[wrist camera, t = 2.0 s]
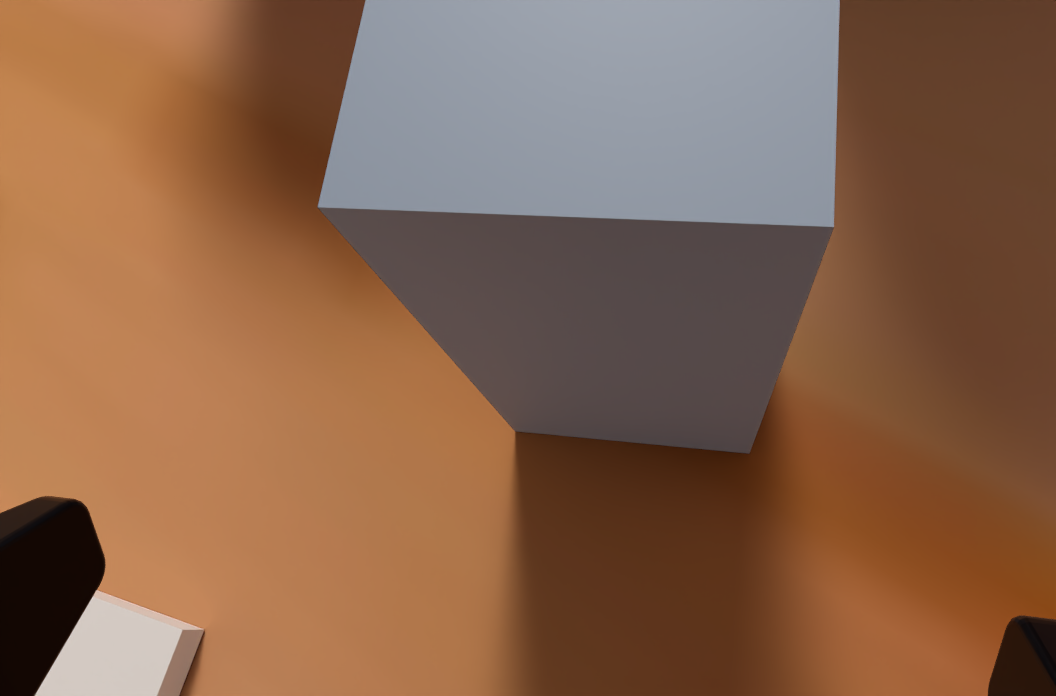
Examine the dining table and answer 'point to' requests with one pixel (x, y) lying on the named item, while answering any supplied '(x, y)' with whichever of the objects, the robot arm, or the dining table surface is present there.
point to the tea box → (597, 199)
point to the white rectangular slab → (123, 653)
